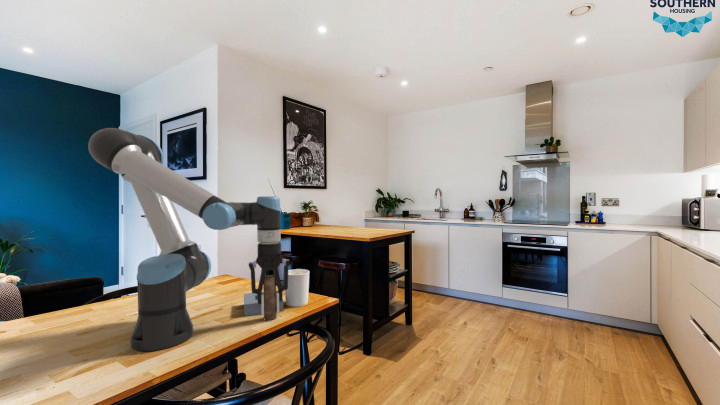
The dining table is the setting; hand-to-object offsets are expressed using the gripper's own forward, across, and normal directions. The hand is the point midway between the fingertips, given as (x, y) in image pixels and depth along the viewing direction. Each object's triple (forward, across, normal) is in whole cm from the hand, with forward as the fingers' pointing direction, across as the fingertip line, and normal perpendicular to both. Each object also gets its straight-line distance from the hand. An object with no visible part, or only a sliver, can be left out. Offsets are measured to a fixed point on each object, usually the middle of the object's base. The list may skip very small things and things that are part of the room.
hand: (270, 312), depth 104 cm
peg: (+2, 0, 0) cm, 2 cm away
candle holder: (+2, +11, +12) cm, 16 cm away
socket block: (+2, -2, +12) cm, 12 cm away
